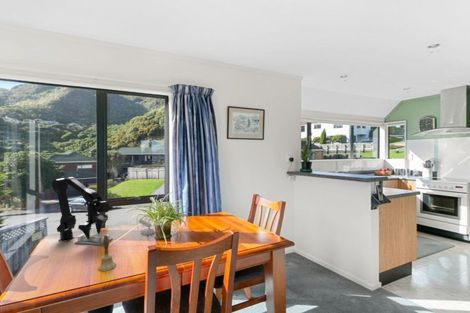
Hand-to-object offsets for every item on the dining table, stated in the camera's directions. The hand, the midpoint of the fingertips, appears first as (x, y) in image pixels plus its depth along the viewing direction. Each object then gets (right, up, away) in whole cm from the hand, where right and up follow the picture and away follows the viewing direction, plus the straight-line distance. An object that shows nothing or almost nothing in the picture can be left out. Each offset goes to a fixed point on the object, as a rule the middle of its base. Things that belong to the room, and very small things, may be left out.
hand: (93, 236), depth 170 cm
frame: (0, -3, 0) cm, 3 cm away
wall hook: (+28, -2, +16) cm, 32 cm away
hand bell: (+25, -5, -35) cm, 43 cm away
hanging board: (0, -4, 0) cm, 4 cm away
